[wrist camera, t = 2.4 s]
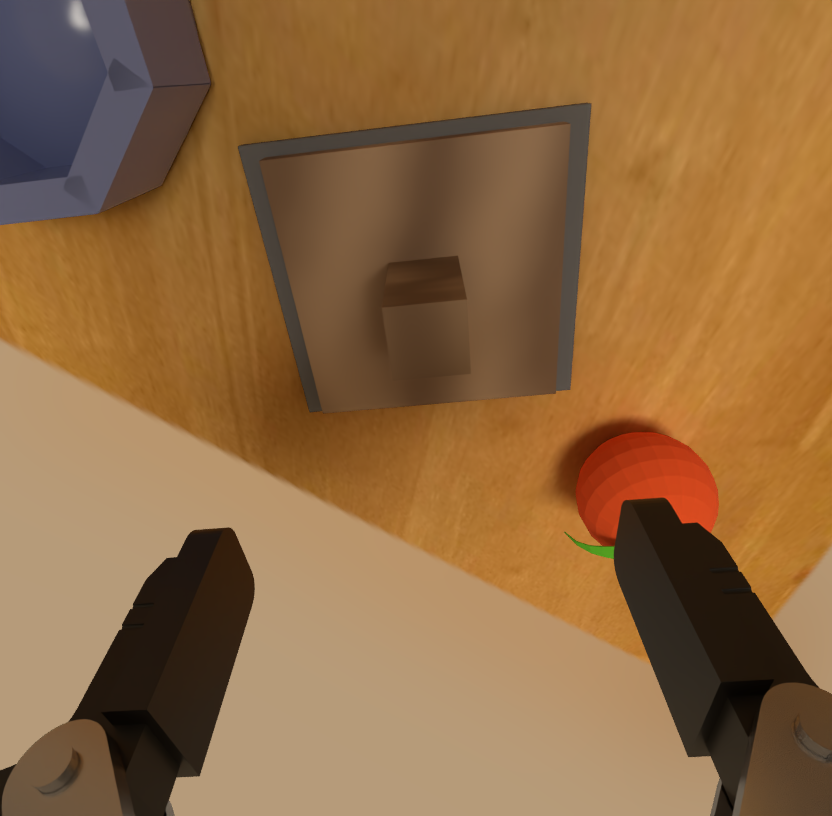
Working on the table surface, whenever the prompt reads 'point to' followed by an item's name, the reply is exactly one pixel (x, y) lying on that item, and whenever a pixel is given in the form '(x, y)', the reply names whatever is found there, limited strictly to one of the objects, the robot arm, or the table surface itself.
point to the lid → (427, 264)
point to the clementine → (642, 484)
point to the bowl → (93, 101)
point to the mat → (568, 113)
